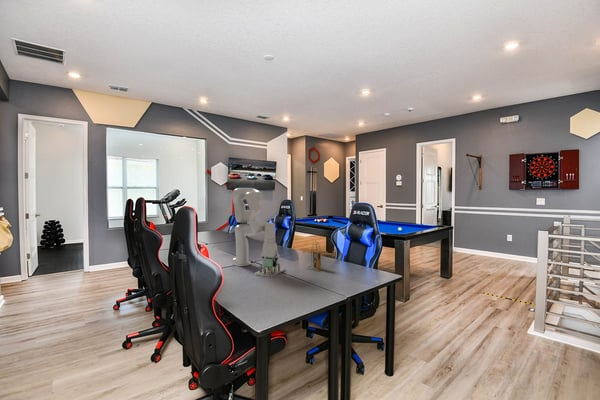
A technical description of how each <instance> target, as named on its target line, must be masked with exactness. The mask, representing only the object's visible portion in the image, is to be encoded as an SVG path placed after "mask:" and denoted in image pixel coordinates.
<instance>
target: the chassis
mask: <svg viewBox="0 0 600 400" xmlns="http://www.w3.org/2000/svg"><path fill="white" fill-rule="evenodd" d="M285 270H286V268H282V267H281V263H279V262H278V266H276V267H269V266H263V264H261V265H259V270H258V271H256V272H254V275H255V276H261V277H269V278H273V277H275V276H277V275H280V273H282V272H285Z"/></svg>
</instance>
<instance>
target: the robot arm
mask: <svg viewBox="0 0 600 400" xmlns="http://www.w3.org/2000/svg"><path fill="white" fill-rule="evenodd" d="M231 198H232V203H233V208H234V218H235V221H236V222H237V223H240V224H237V225H236V226H235V227H234V231H233V232H234V236H235V257H234V258H233V259H232V261H233V262H234V264H233V265H234V266H236V267H245V266H246V267H247V266H250V265H251V264H252V263H251V261H249V260H250V259H249V240H248V238H247V236H253V235H256V234H264V238H263V241H264V242H263V245H262V252H261V253H260V254H259V255H260V256H261V258H262V260H263V259H266V258H273V260H274V261H273V267H277V266H276V261H277V260H278V261H279V258H281V255H280V254H279V252H278V245H277V242H276V224H275V223H274V222H268V221H262V222H257V220H256V215H257V214H259V213H261V211H263V210H262V208H263V207H262V206H261V203H262V202H263V201H264V194H263V192H261V191H260V190H258V189H256V188H253V187H237V188H235V189H234V190H233V191H232V192H231ZM244 200H245V201H246V203H247V206H248V208H249V209H246V204H245V202H244Z"/></svg>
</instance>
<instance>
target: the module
mask: <svg viewBox="0 0 600 400" xmlns="http://www.w3.org/2000/svg"><path fill="white" fill-rule="evenodd" d="M273 261H274V260H273V258H270V257H268V258H266V259H263V258H262V267H267V266H269V267H273ZM278 263H279V259H278V260H277V261H276V267H278Z"/></svg>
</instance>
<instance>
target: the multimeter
mask: <svg viewBox="0 0 600 400" xmlns="http://www.w3.org/2000/svg"><path fill="white" fill-rule="evenodd" d="M313 243H315V246H316V247H315V250H313V249H312V250H311V253H310V254H311V258H312V265H310V266H309V268H310V267H312V270H313V271H316V272H317V271H320V270H321V269H322V270H321V272H323V270H324V267H323V265H322V261H321V260H322V258H321V257H322V255H321V253H322V252H321V250H318V247H319V248H321V246H320V242H317V241H313ZM313 247H314V245H312V246H311V248H313ZM315 269H316V270H315Z"/></svg>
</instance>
